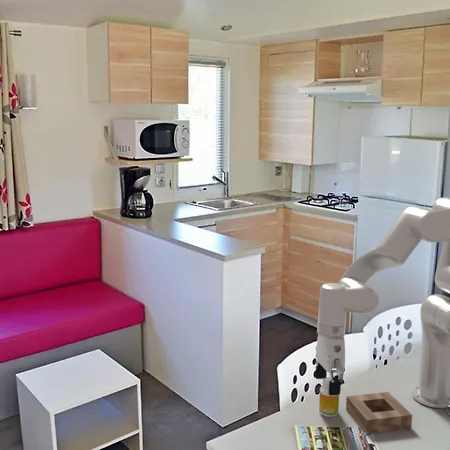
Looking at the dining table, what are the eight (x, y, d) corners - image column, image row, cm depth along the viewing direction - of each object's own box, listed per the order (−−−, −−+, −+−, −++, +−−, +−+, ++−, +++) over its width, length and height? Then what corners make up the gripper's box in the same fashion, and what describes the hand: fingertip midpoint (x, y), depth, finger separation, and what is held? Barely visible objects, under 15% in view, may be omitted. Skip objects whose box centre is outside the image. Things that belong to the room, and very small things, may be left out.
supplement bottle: (338, 418, 155) (339, 385, 153) (318, 416, 156) (319, 384, 154) (338, 408, 160) (339, 377, 158) (319, 406, 161) (320, 375, 159)
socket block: (387, 404, 162) (388, 391, 161) (411, 428, 150) (412, 414, 149) (345, 409, 159) (346, 396, 159) (366, 434, 147) (367, 420, 146)
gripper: (357, 339, 146) (353, 400, 149) (331, 317, 162) (327, 372, 165) (330, 341, 144) (326, 402, 147) (307, 318, 161) (303, 373, 164)
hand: (327, 386), depth 156 cm, fingers open, 9 cm apart
